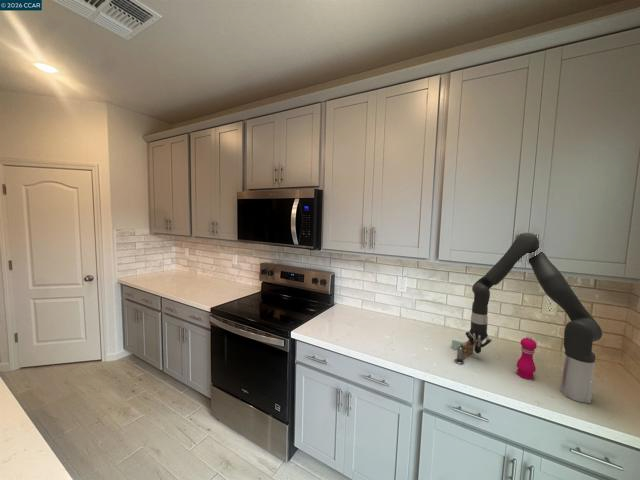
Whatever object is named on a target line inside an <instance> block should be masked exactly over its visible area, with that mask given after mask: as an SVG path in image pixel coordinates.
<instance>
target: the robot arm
mask: <svg viewBox="0 0 640 480" xmlns="http://www.w3.org/2000/svg"><path fill="white" fill-rule="evenodd" d="M539 243H540V241H539V238H538V237H537V235H535V234H533V233H531V232H523V233H520V234H519V235H517V236H516V238H515V239H514V241H513V242H512V244H511V246H510V247H509V248H508V250H507V251H506V252H505V253H504V254H503V256H502V257H501V258H500V259H499V260H498V261H497V262H496V263H495V264H494V265H493V266H492V267H491V268H490V269H489V270H488V271H487V272H486V274H485V275H483V276H481V278H479V279H478V280H476V282H475V283H474V284H473V285H472V287H471V290H472V292H473V296H474V298H473V302H472V305H471V317H470V329H469V331H467V332H465V335H466V337H467V339H468V340H469V341H470V342H471V343H472V344H474V351H473V352H474V353H475V354H481V352H482V348H484V347H486V346H488V345H489V344H490V343H491V342H492V341H493V339H492V338H489V336H488V335H489V334H488V322H489V321H488V320H489V317H488V314H489V313H488V312H489V311H488V309H489V307H488V305H489V301H490V297H491V292H490V289H491V288H493V286H497V285H498V284H500V283H501V281H502V280H503V279H504V278H506V277H507V276H508V274H509V273H510V272H511V271H512V269H513V268H514V266H515V265H516V264H517V263H518V261H519V260H520V259H522V257H524V255H525V254H526V253H532V252H535V251H536V250H537V249H538V248H539ZM544 253H545V252H544ZM544 253H543V252H540V253H539V254H538V255H536V256H534V257H532V258H530V259H529V262H528V264H529V265H530V267H531V268H532V271H533V273H534V276H535V277H536V280H537V281H538V284H539V285H540V287H541V288H542V290H543V292H544V293H545V294H546V295H547V296H548V297H549V298H550V299H551V301H554V303H555V304H557V305H558V306H559V307H560V308H561V309H562V310H563V311H564V312H565V314H566V315H567V317H568V318H569V320H570V321H568V322H567V323H566V325H565V326H564V332H563V348H564V357H563V364H562V371H561V373H562V374H561V381H560V387H559V388H560V390H559V391H560V392H561V394H562V395H564V396H565V397H567V398H569V399H571V400H573V401H576V402H579V403H585V404H586V403H587V404H592V398H593V397H592V396H593V389H594V383H595V382H594V379H593V378H594V371H595V364H596V355H595V353H594V352H593V343H595V342H596V341H599V340H600V339H602V337H603V329H602V328H601V326H600V325H599V323H598V322H597V321H596V320H595V319H594V317H593V316H592V315H591V313H590V312H588V310H587V309H586V308H585V307H584V305H583V304H582V302H581V300H580V299H579V297H578V296H577V295H576V293H575V292H574V290H573V289H572V287H571V286H570V283H568V281H567V280H566V278H565V277H564V275H563V274H562V273H561V272H560V270H559V269H558V268H557V266H555V265H554V264H553V263H552V262H551V261H550V259H549V258H548V256H547V255H546V253H545V254H544ZM484 340H485V342H484ZM483 342H484V343H483Z"/></svg>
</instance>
